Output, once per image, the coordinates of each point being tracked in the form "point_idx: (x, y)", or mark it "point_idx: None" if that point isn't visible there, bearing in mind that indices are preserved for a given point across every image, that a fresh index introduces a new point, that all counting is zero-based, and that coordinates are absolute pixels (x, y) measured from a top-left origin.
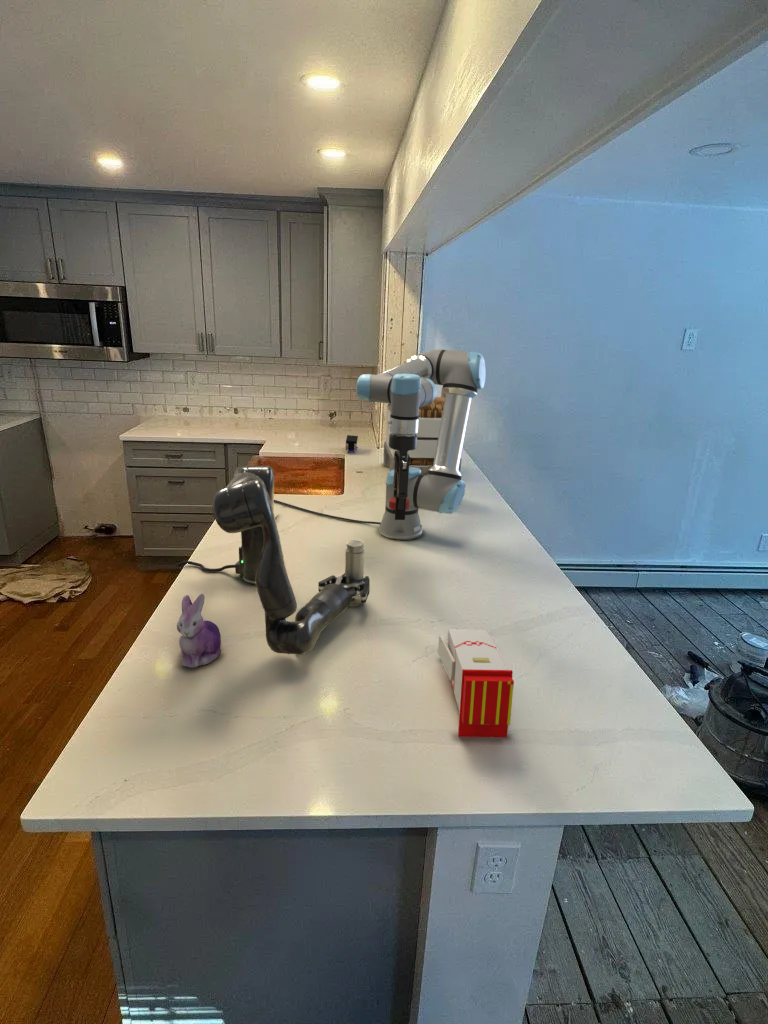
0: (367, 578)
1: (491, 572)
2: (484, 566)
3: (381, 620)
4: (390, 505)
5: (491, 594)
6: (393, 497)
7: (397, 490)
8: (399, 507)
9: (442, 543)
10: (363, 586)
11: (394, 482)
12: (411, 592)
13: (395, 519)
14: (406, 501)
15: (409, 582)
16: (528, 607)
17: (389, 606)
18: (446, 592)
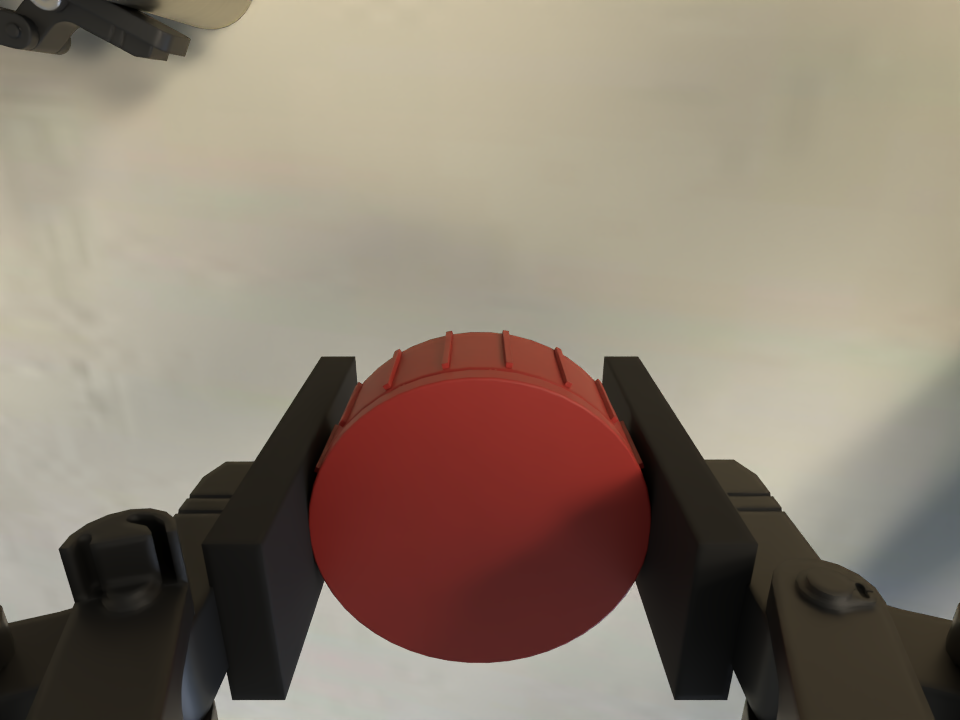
0: (142, 40)
1: (560, 669)
2: (622, 658)
3: (34, 129)
4: (412, 361)
5: (357, 628)
6: (622, 456)
7: (58, 695)
8: (201, 491)
9: (918, 539)
10: (22, 2)
11: (897, 676)
12: (349, 312)
13: (319, 362)
14: (416, 621)
15: (459, 316)
16: (266, 715)
17: (186, 184)
18: None
